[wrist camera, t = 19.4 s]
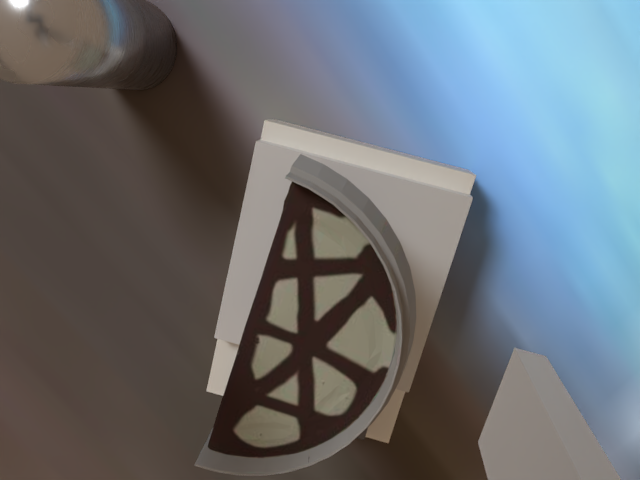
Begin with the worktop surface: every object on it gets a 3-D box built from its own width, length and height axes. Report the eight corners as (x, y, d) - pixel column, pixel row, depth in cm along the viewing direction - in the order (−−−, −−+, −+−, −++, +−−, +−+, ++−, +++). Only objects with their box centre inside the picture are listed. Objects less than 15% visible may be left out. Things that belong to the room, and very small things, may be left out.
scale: (274, 119, 30) (260, 120, 26) (468, 169, 29) (479, 178, 26) (218, 370, 34) (200, 400, 30) (388, 418, 33) (388, 454, 30)
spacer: (98, -12, 29) (-43, -69, 19) (183, 9, 29) (82, -39, 19) (88, 78, 30) (-49, 67, 21) (169, 99, 30) (69, 97, 20)
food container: (359, 394, 29) (348, 535, 20) (253, 355, 29) (190, 477, 20) (443, 181, 26) (480, 225, 16) (324, 139, 26) (290, 159, 17)
